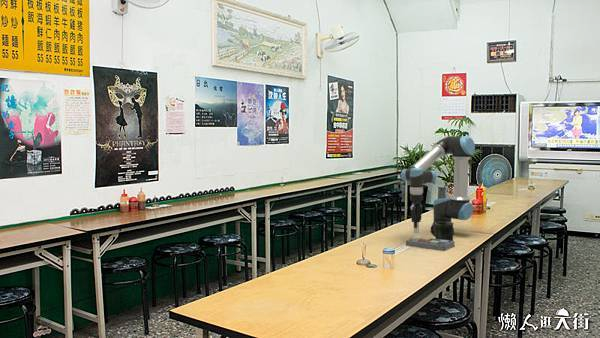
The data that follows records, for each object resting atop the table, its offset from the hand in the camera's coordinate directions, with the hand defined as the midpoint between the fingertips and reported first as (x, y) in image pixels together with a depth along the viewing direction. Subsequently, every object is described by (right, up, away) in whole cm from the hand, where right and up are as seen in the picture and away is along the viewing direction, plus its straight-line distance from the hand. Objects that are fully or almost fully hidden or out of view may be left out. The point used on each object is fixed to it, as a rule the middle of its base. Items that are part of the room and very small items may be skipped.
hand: (416, 232), depth 312 cm
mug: (+18, -7, +10) cm, 21 cm away
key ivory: (0, -5, +1) cm, 5 cm away
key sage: (+9, -7, -7) cm, 13 cm away
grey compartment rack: (+7, -8, -5) cm, 12 cm away
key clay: (+5, -5, -3) cm, 8 cm away
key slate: (+14, -6, -11) cm, 18 cm away
